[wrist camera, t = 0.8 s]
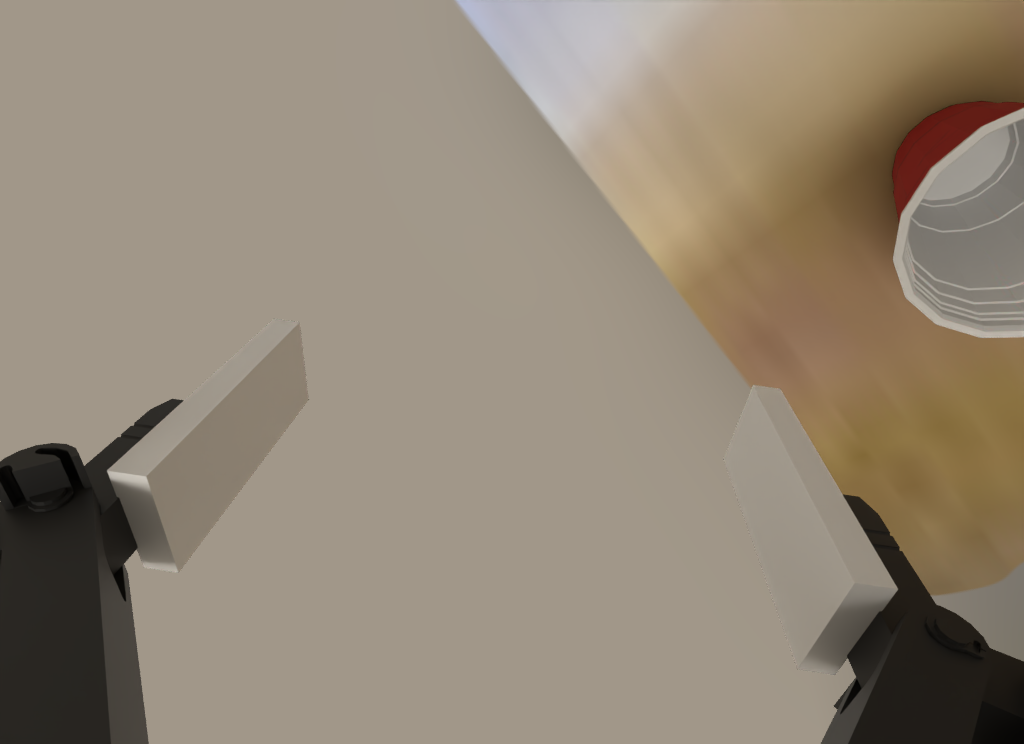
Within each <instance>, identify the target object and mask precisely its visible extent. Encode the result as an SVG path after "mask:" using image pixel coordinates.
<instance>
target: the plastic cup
mask: <svg viewBox="0 0 1024 744" xmlns="http://www.w3.org/2000/svg"><path fill="white" fill-rule="evenodd" d="M892 177H893V182H894V192H893V193H894V198H895V204H896V209H897V214H898V220H899V228H898V233H897V239H896V244H895V249H894V255H893V262H894V265H895V268H896V271H897V274H898V277H899V280H900V283H901V286H902V289H903V292H904V295H905V298H906V299H907V300H909V301H910V302H911V303H912V304H913V305H914V306H916V307H917V308H918V309H919V310H920V311H921V312H922V313H924V314H925V315H926V316H927V317H928V318H929V319H930V320H932V321H933V322H934V323H935V324H936V325H940V326H943V327H946V328H950V329H953V330H956V331H960V332H963V333H966V334H969V335H973V336H976V337H979V338H1003V337H1024V103H1017V102H1002V103H993V102H984V101H979V102H971V103H964V104H956V105H953V106H949V107H947V108H945V109H943V110H941V111H939V112H936V113H934V114H932V115H930V116H928V117H927V118H925V119H924V120H923V121H922V122H921V123H920V124H918V125H917V126H916V127H915V128H914V129H913V130H911V131H910V132H909V133H908V135H907V136H906V138H905V139H904V141H903V143H902V144H901V146H900V147H899V149H898V151H897V154H896V157H895V162H894V167H893V172H892Z"/></svg>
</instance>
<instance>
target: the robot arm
mask: <svg viewBox="0 0 1024 744" xmlns="http://www.w3.org/2000/svg"><path fill="white" fill-rule="evenodd" d="M304 365H305V364H304V356H303V347H302V338H301V330H300V323H299V322H295V321H287V320H280V319H273V320H272V321H271V322H270V323H269V324H268V325H266V326H265V327H264V328H263V329H262V330H261V331H260V332H259V333H258V334H257V335H255V336H254V337H253V338H252V339H251V340H250V341H249V342H248V343H247V344H246V345H244V346H243V347H242V348H241V349H240V350H239V351H238V352H237V353H236V354H235V355H233V356H232V357H231V358H230V359H229V360H228V361H227V362H226V363H225V364H224V365H223V366H222V367H220V368H219V369H218V370H217V371H216V372H215V373H214V374H213V375H212V376H210V377H209V378H208V379H207V380H206V381H205V382H204V383H203V384H202V385H200V386H199V387H198V388H197V389H196V390H195V391H194V392H193V393H192V394H191V395H190V396H188V397H187V398H186V399H185V400H176V399H171V400H169V401H167V402H165V403H163V404H161V405H159V406H157V407H154V408H153V409H151V410H149V411H148V412H147V413H146V414H145V415H143V416H142V417H141V418H140V419H139V420H137V421H136V422H135V424H134V426H130V427H129V428H128V429H127V430H126V431H125V432H124V433H122V434H121V437H118V438H116V439H115V440H114V441H113V442H112V443H111V444H109V445H108V446H107V447H106V448H105V449H104V450H103V451H102V452H100V453H99V454H98V455H97V456H96V457H94V458H93V459H92V460H91V461H90V462H89V463H87V464H86V465H85V466H84V465H83V463H82V460H81V458H80V456H79V453H78V452H77V450H76V448H74V447H72V446H69V445H67V444H57V443H50V444H43V445H36V446H33V447H30V448H27V449H24V450H21V451H18V452H16V453H14V454H12V455H11V456H8V457H7V458H5V459H3V460H2V461H1V462H0V501H1V502H0V744H148V735H147V727H146V718H145V710H144V702H143V694H142V686H141V677H140V669H139V661H138V653H137V644H136V637H135V628H134V620H133V612H132V603H131V595H130V587H129V579H128V573H127V570H126V568H125V565H124V563H125V562H126V561H127V559H128V558H129V557H130V556H131V555H132V554H133V553H134V551H135V550H136V549H137V551H138V553H139V556H140V559H141V561H142V564H143V566H144V567H145V568H151V569H157V570H164V571H170V572H176V573H179V572H180V570H181V569H182V568H183V566H184V565H185V564H186V562H187V561H188V560H189V558H190V557H191V556H192V554H193V553H194V552H195V550H196V549H197V548H198V546H199V545H200V544H201V542H202V541H203V540H204V538H205V537H206V535H207V534H208V533H209V532H210V530H211V529H212V528H213V526H214V525H215V524H216V522H217V521H218V520H219V518H220V517H221V516H222V514H223V513H224V512H225V510H226V509H227V508H228V506H229V505H230V504H231V502H232V501H233V500H234V498H235V497H236V496H237V494H238V493H239V492H240V490H241V489H242V488H243V486H244V485H245V484H246V482H247V481H248V480H249V478H250V477H251V476H252V474H253V473H254V472H255V470H256V469H257V468H258V466H259V465H260V464H261V463H262V461H263V460H264V458H265V457H266V456H267V455H268V453H269V452H270V451H271V449H272V448H273V446H274V445H275V444H276V443H277V441H278V440H279V439H280V437H281V436H282V434H283V433H284V432H285V431H286V429H287V428H288V427H289V425H290V424H291V423H292V421H293V420H294V419H295V417H296V416H297V415H298V413H299V412H300V411H301V409H302V408H303V407H304V405H305V404H306V403H307V401H308V400H309V399H308V391H307V383H306V382H307V381H306V373H305V366H304ZM723 460H724V463H725V465H726V468H727V471H728V474H729V477H730V480H731V482H732V485H733V488H734V491H735V494H736V497H737V500H738V502H739V505H740V508H741V511H742V514H743V517H744V519H745V522H746V525H747V528H748V531H749V534H750V536H751V539H752V542H753V545H754V548H755V550H756V553H757V556H758V559H759V562H760V565H761V567H762V570H763V573H764V576H765V579H766V582H767V585H768V587H769V590H770V593H771V596H772V599H773V602H774V605H775V607H776V610H777V613H778V615H779V619H780V622H781V624H782V627H783V630H784V633H785V636H786V639H787V641H788V644H789V647H790V650H791V652H792V656H793V658H794V661H795V664H796V667H797V669H799V670H805V671H812V672H818V673H825V674H831V675H835V674H836V673H837V672H838V670H839V669H840V668H841V666H842V665H843V663H844V662H845V661H846V659H847V658H848V659H849V662H850V664H851V666H852V668H853V671H854V673H855V675H856V678H855V679H854V681H853V682H852V683H851V684H850V686H849V687H848V689H847V690H846V691H845V692H844V694H843V695H842V696H841V697H840V699H839V700H838V701H837V703H836V704H835V705H834V707H835V708H836V709H838V710H837V712H836V714H835V716H834V718H833V720H832V722H831V724H830V726H829V728H828V730H827V732H826V734H825V736H824V738H823V740H822V742H821V744H1024V662H1023V661H1021V660H1018V659H1016V658H1013V657H1011V656H1008V655H1006V654H1003V653H1001V652H998V651H996V650H993V649H991V648H989V646H988V644H987V643H986V641H985V639H984V637H983V636H982V635H981V634H980V633H979V632H978V631H977V630H976V629H975V628H974V627H973V626H972V625H971V624H970V623H968V622H967V621H966V620H964V619H963V618H961V617H960V616H959V615H957V614H956V613H954V612H952V611H950V610H947V609H945V608H943V607H941V606H938V605H936V604H935V602H934V601H933V599H932V597H931V596H930V594H929V593H928V591H927V590H926V588H925V586H924V585H923V583H922V582H921V580H920V579H919V577H918V575H917V574H916V572H915V571H914V569H913V568H912V566H911V565H910V563H909V561H908V560H907V558H906V557H905V555H904V554H903V552H902V551H899V548H900V547H899V546H898V544H897V543H896V541H895V540H894V538H893V536H890V532H889V530H888V529H887V527H886V526H885V524H884V522H883V521H882V519H881V518H880V516H879V515H878V513H876V512H875V511H874V510H873V509H872V508H871V507H870V506H869V505H868V504H866V503H865V502H864V501H863V500H862V499H861V498H860V497H857V496H850V495H843V494H842V493H841V491H840V490H839V488H838V486H837V484H836V483H835V481H834V479H833V478H832V476H831V474H830V473H829V471H828V469H827V467H826V466H825V464H824V462H823V461H822V459H821V457H820V456H819V454H818V452H817V450H816V449H815V447H814V445H813V444H812V442H811V440H810V439H809V437H808V435H807V434H806V432H805V430H804V428H803V427H802V425H801V423H800V422H799V420H798V418H797V417H796V415H795V413H794V411H793V410H792V408H791V406H790V405H789V403H788V401H787V400H786V398H785V396H784V394H783V393H782V391H781V389H779V388H771V387H764V386H757V385H753V386H752V388H751V391H750V393H749V396H748V399H747V401H746V403H745V406H744V409H743V411H742V414H741V416H740V419H739V421H738V424H737V426H736V429H735V431H734V434H733V436H732V439H731V441H730V444H729V447H728V449H727V451H726V454H725V456H724V459H723Z"/></svg>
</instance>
